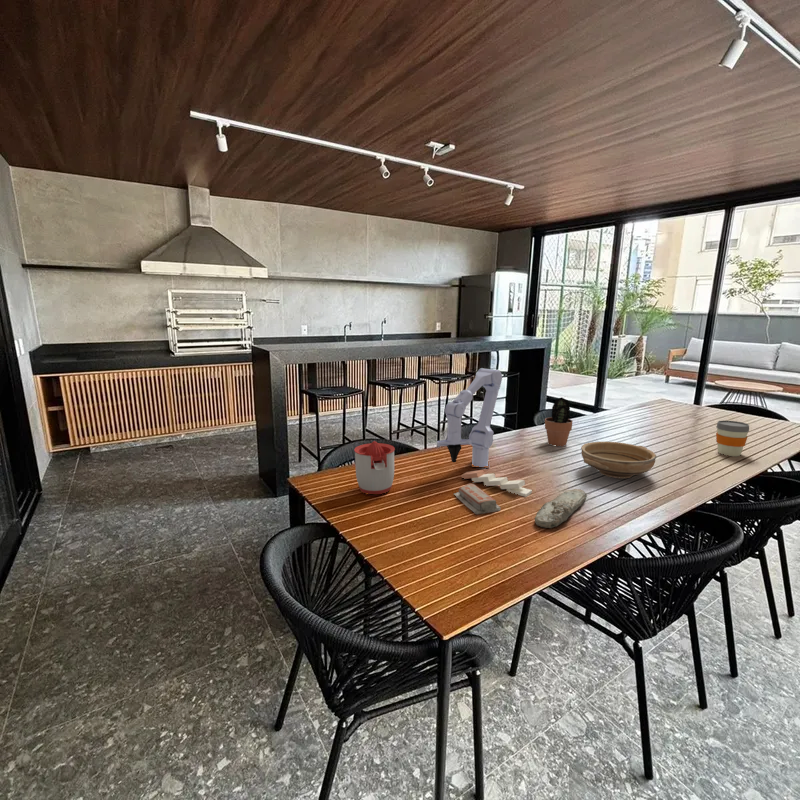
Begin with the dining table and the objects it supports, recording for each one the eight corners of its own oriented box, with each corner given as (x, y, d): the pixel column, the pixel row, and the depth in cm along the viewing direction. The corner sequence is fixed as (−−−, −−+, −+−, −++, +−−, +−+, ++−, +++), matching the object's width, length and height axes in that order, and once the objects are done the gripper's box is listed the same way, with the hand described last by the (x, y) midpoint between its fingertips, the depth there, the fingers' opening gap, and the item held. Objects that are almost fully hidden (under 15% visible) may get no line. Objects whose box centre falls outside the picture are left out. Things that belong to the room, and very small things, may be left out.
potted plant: (538, 442, 230) (540, 396, 225) (557, 439, 236) (559, 394, 231) (557, 449, 218) (560, 401, 213) (576, 445, 223) (580, 398, 219)
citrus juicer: (360, 502, 157) (358, 450, 154) (352, 485, 174) (350, 437, 170) (401, 497, 161) (400, 446, 158) (389, 480, 178) (389, 434, 174)
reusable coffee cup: (752, 457, 202) (756, 426, 200) (725, 457, 203) (729, 426, 200) (732, 449, 215) (736, 420, 212) (707, 449, 215) (710, 420, 212)
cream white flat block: (471, 478, 175) (487, 476, 170) (478, 474, 179) (494, 473, 174) (472, 482, 175) (488, 481, 170) (479, 479, 179) (495, 477, 173)
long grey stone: (593, 502, 159) (566, 497, 166) (593, 488, 159) (566, 483, 165) (557, 533, 133) (527, 525, 139) (558, 517, 132) (527, 509, 139)
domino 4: (499, 484, 167) (518, 483, 162) (506, 481, 171) (524, 479, 165) (500, 489, 167) (519, 488, 162) (507, 485, 171) (525, 484, 165)
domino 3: (483, 481, 172) (499, 480, 166) (490, 478, 175) (507, 477, 169) (484, 485, 172) (500, 485, 166) (492, 482, 175) (508, 481, 169)
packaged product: (502, 498, 149) (476, 502, 146) (501, 511, 150) (476, 516, 147) (476, 480, 166) (453, 484, 162) (476, 492, 167) (453, 496, 163)
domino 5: (506, 488, 166) (526, 494, 160) (512, 484, 169) (532, 490, 164) (506, 493, 166) (525, 498, 161) (512, 489, 170) (531, 494, 164)
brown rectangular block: (461, 475, 179) (476, 472, 173) (467, 471, 183) (483, 469, 177) (462, 479, 179) (477, 477, 173) (468, 475, 182) (484, 473, 177)
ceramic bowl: (618, 493, 163) (621, 468, 161) (558, 470, 187) (559, 448, 186) (674, 475, 181) (677, 452, 179) (612, 457, 205) (614, 436, 203)
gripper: (467, 427, 186) (467, 457, 188) (435, 429, 183) (434, 459, 186) (473, 431, 179) (472, 462, 181) (439, 433, 176) (439, 465, 179)
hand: (453, 461), depth 183 cm, fingers closed
